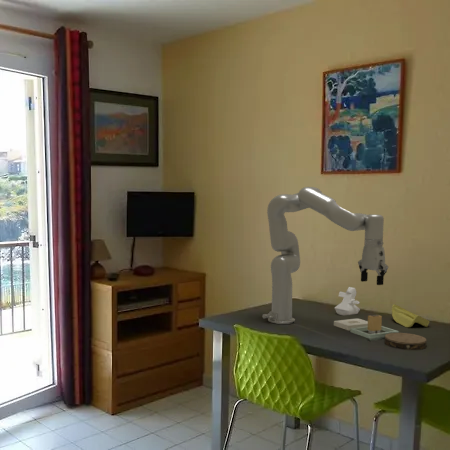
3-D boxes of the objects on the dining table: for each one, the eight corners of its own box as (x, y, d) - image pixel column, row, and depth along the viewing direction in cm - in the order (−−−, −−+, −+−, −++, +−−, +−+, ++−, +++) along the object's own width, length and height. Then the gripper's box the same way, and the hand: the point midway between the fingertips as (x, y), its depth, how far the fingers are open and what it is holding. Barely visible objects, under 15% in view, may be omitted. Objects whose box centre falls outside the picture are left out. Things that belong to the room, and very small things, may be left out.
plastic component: (432, 322, 244) (415, 314, 241) (424, 336, 244) (408, 328, 241) (406, 310, 263) (391, 302, 260) (400, 323, 263) (384, 315, 260)
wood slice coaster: (381, 339, 222) (381, 331, 222) (420, 340, 221) (420, 333, 221) (389, 349, 207) (389, 342, 207) (431, 351, 205) (431, 343, 205)
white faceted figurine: (352, 318, 260) (353, 290, 259) (331, 313, 271) (331, 286, 270) (363, 316, 265) (364, 289, 264) (342, 311, 276) (343, 285, 275)
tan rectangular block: (372, 335, 224) (372, 316, 224) (367, 334, 227) (367, 315, 227) (381, 334, 227) (381, 315, 226) (376, 333, 229) (376, 314, 229)
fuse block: (348, 332, 231) (348, 325, 231) (333, 327, 240) (333, 321, 240) (372, 329, 237) (372, 322, 237) (357, 324, 246) (357, 318, 246)
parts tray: (369, 341, 218) (370, 335, 218) (350, 334, 228) (350, 328, 228) (398, 337, 225) (398, 331, 225) (378, 330, 236) (378, 325, 236)
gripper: (394, 245, 220) (393, 285, 221) (366, 241, 236) (364, 279, 237) (381, 245, 217) (379, 286, 218) (353, 241, 232) (351, 280, 233)
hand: (371, 283), depth 227 cm, fingers open, 9 cm apart
